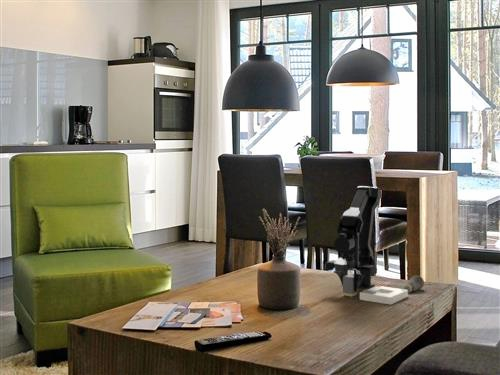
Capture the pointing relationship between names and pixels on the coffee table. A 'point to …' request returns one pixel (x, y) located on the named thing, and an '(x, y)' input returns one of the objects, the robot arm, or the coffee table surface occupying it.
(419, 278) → the stone
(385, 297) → the socket plate
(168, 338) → the coffee table surface
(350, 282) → the plug
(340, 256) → the robot arm
